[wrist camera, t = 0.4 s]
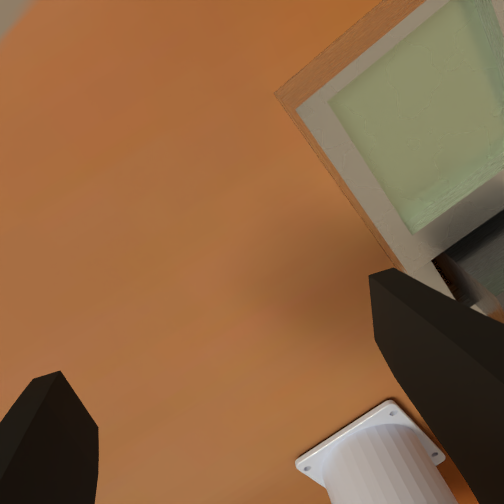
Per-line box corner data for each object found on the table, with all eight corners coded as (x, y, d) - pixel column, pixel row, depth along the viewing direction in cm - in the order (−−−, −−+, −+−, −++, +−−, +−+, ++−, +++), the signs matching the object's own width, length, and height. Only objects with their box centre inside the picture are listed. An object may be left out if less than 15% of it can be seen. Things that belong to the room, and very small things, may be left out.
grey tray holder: (554, 232, 24) (602, 260, 21) (430, 316, 25) (462, 352, 22) (447, -55, 16) (505, -66, 13) (273, 93, 17) (295, 109, 14)
